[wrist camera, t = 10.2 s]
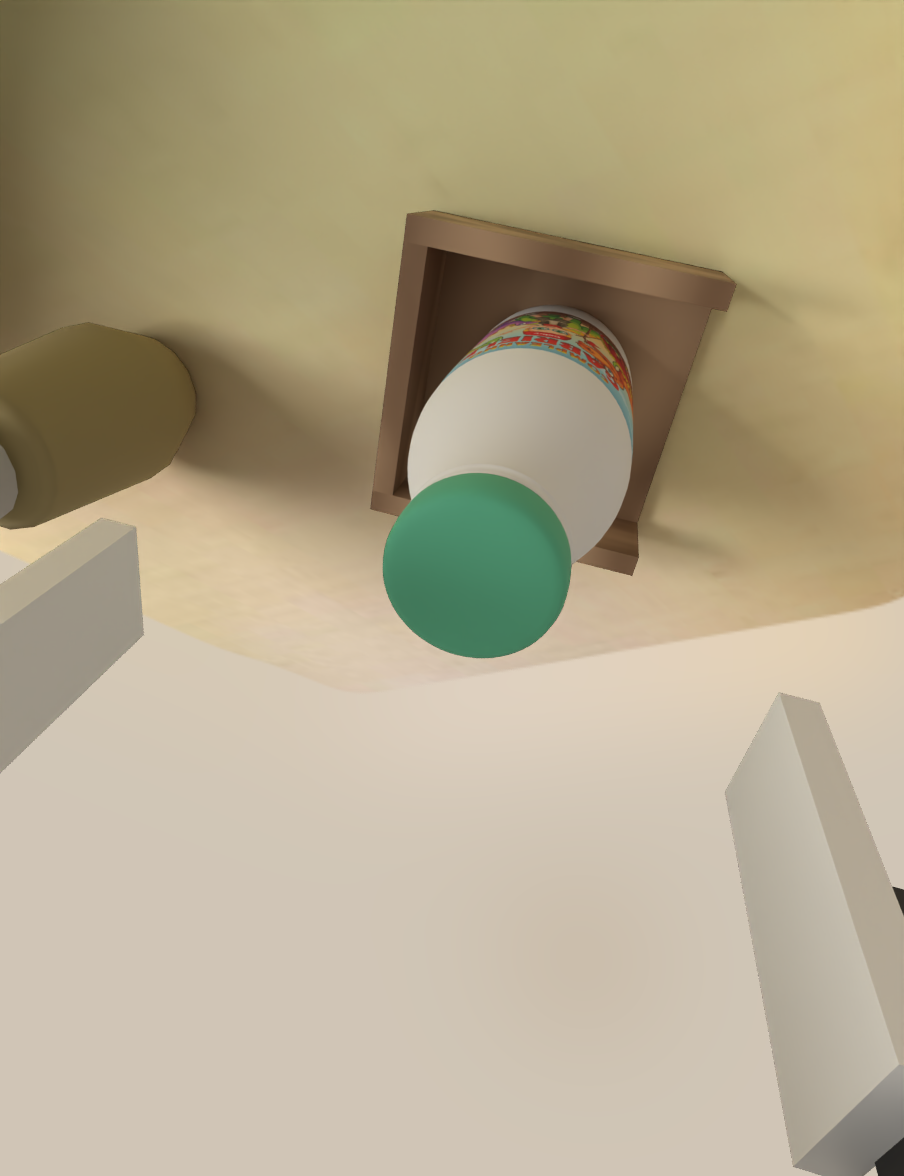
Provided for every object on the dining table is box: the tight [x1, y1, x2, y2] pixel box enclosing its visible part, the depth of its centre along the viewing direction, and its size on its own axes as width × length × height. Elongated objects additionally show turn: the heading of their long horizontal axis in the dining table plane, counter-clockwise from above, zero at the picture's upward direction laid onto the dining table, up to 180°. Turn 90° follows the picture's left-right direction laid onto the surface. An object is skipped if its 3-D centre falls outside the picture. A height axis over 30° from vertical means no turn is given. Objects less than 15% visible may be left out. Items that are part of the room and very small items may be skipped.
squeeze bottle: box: [0, 322, 196, 529], centre depth 31 cm, size 8×8×18 cm
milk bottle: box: [383, 305, 633, 658], centre depth 25 cm, size 8×8×20 cm
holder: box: [370, 211, 737, 576], centre depth 33 cm, size 13×13×5 cm
